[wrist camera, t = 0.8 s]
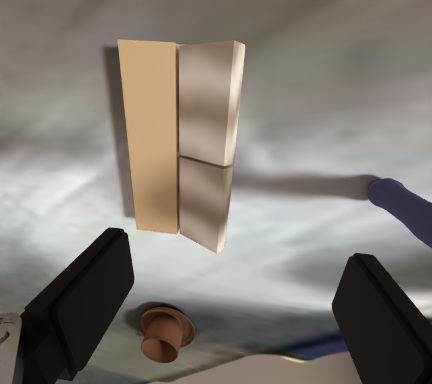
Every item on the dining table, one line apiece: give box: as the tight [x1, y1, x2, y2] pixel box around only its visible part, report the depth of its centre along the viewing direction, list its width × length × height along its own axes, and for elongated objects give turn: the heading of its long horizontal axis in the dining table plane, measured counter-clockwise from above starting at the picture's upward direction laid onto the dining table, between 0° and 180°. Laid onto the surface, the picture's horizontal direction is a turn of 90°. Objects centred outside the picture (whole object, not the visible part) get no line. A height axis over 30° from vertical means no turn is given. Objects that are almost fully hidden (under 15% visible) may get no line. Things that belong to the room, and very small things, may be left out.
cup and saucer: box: [139, 307, 195, 363], centre depth 44 cm, size 12×12×6 cm
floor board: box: [118, 40, 245, 234], centre depth 29 cm, size 25×14×4 cm, turn 176°
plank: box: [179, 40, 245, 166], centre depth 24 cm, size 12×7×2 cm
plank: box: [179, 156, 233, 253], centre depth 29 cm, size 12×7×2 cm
